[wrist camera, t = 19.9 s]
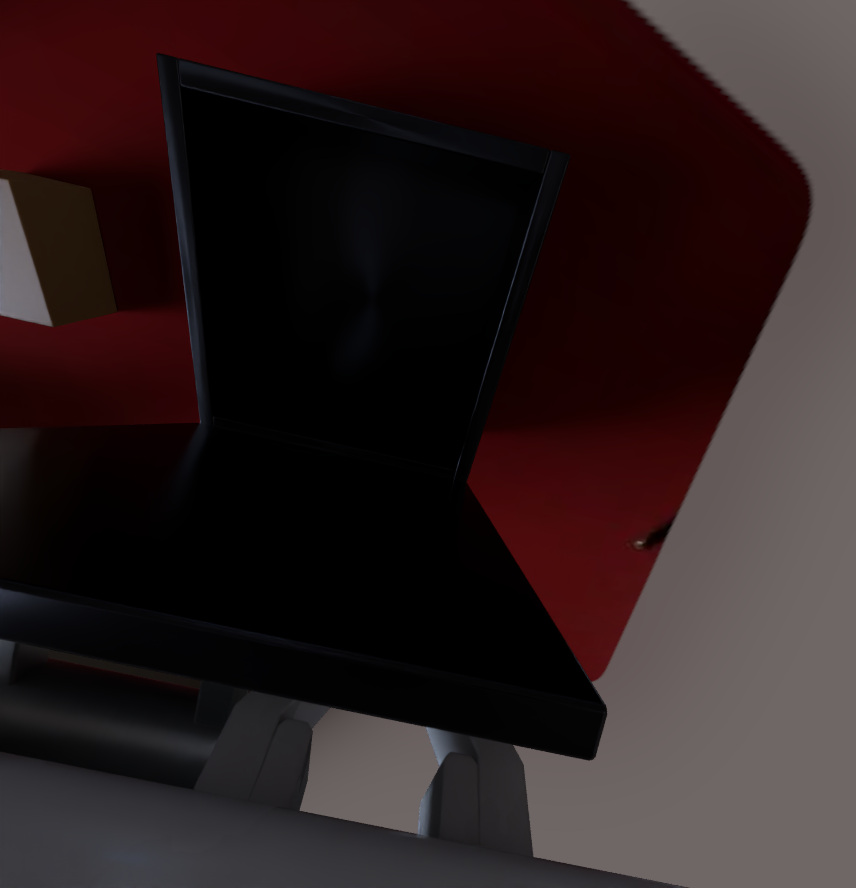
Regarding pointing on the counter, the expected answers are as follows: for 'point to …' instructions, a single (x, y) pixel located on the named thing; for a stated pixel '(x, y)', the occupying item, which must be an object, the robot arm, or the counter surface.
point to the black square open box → (349, 265)
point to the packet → (51, 252)
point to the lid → (258, 599)
